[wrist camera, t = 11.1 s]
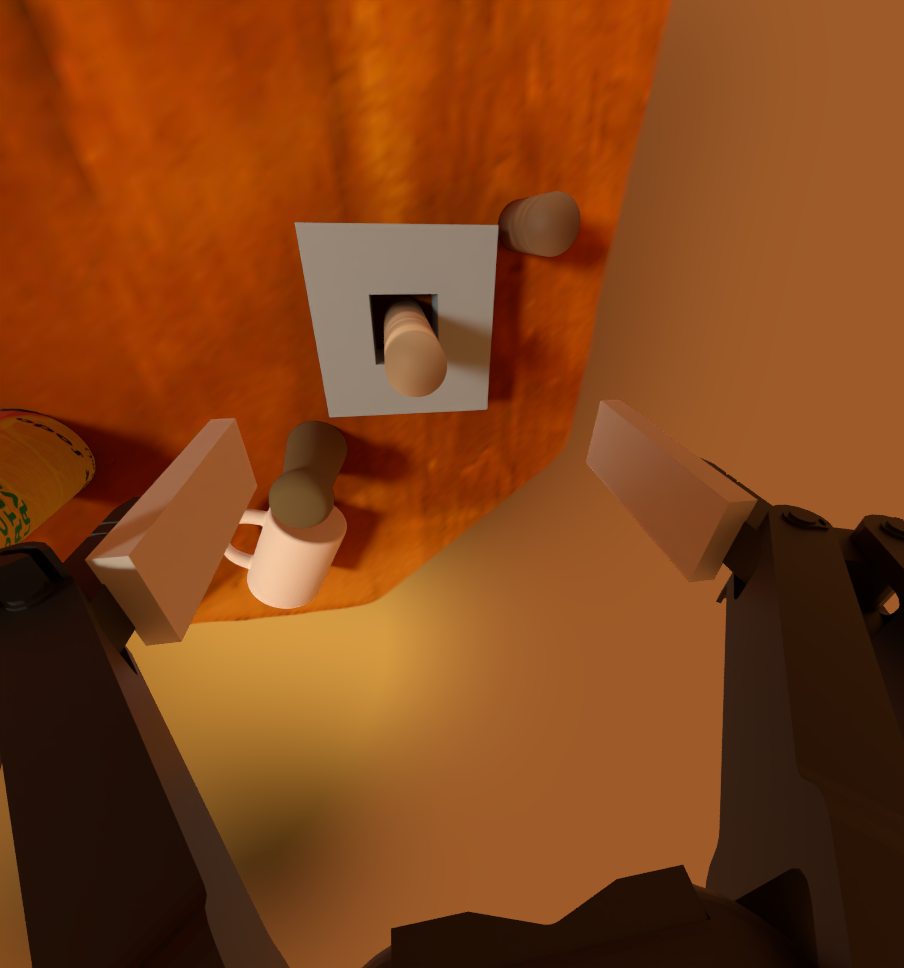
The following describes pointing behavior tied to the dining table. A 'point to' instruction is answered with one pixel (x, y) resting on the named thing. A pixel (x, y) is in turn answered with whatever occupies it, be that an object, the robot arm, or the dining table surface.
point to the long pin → (411, 350)
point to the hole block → (399, 270)
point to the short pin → (540, 224)
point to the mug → (289, 558)
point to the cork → (308, 475)
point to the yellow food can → (37, 471)
